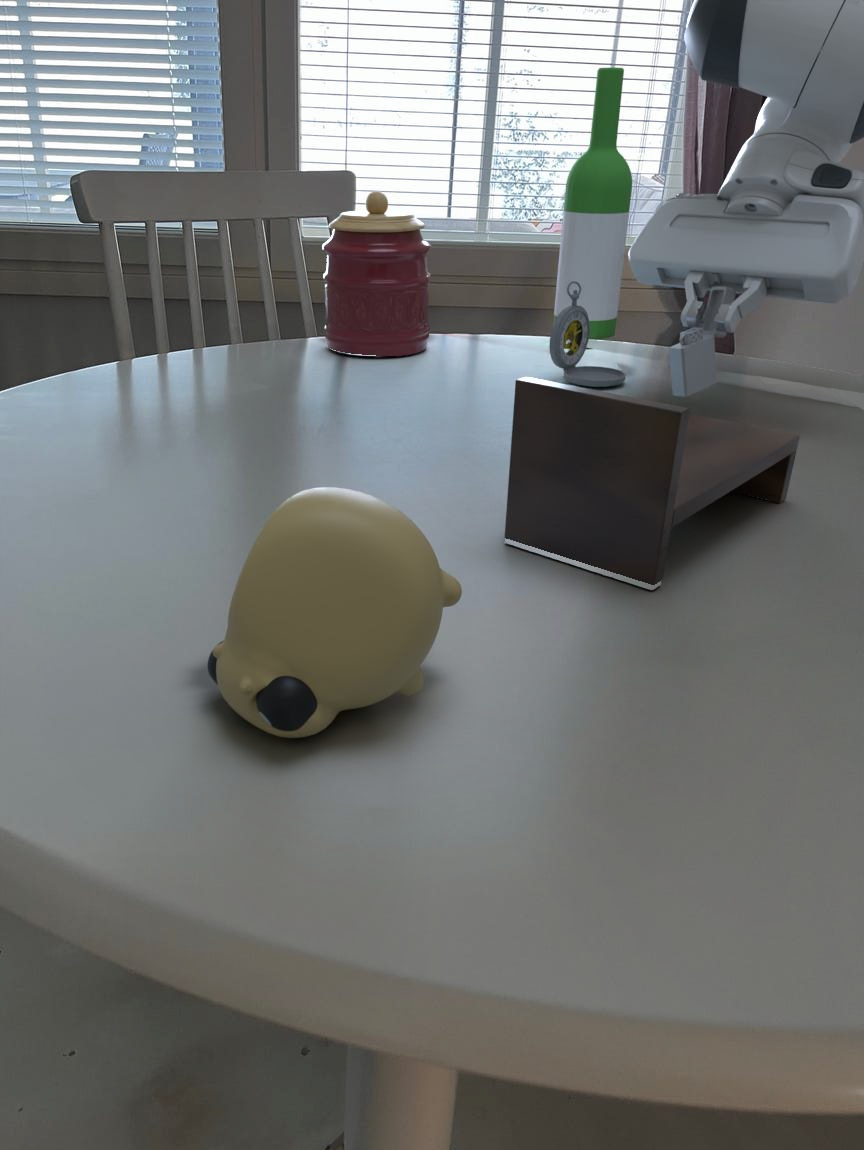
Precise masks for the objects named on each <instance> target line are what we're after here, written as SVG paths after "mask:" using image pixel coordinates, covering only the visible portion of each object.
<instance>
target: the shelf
mask: <svg viewBox="0 0 864 1150" xmlns="http://www.w3.org/2000/svg"><path fill="white" fill-rule="evenodd" d="M512 413H513V414H512V425H511V426H512V427H511V428H512V429H511V438H510V439H511V440H510V452H509V453H510V454H509V468H508V469H509V470H508V484H507V496H506V498H507V499H506V508H505V509H506V510H505V511H506V512H505V524H504V538H506V539H510V540H513V541H516V542H519V543H522V544H525V545H528V546H532V547H535V548H538V549H541V550H544V551H547V552H550V553H554V554H557V555H560V556H563V557H566V558H569V559H572V560H576V561H579V562H582V563H585V564H588V565H591V566H594V567H598V568H601V569H604V570H607V571H610V572H613V573H616V574H620V575H623V576H626V577H629V578H632V579H635V580H638V581H642V582H645V583H648V584H651V585H655V584H657V583H658V582H660V581H661V580H662V581H663V578H664V573H665V567H666V561H667V554H668V548H669V542H670V537H671V531H672V528H673V527H675V526H677V525H679V524H680V523H682V522H683V521H685V520H686V519H688V518H689V517H691V516H693V515H695V514H696V513H698V512H699V511H701V510H703V509H704V508H705V507H707V506H709V505H710V504H712V503H714V502H716V501H717V500H718V499H720V498H722V497H723V496H725V495H727V494H728V493H734V492H736V493H735V494H738V493H741V494H740V495H742V494H745V495H744V496H746V495H750V496H754V497H759V498H763V499H767V500H770V501H769V502H771V501H774V502H773V503H775V502H778V503H777V504H781V503H783V502H784V501H786V500H785V499H787V495H788V491H789V487H790V482H791V478H792V473H793V469H794V465H795V461H796V456H797V450H798V447H799V442H800V437H801V435H800V434H797V433H792V432H786V431H782V430H776V429H771V428H766V427H761V426H756V425H751V424H747V423H741V422H736V421H731V420H725V419H721V418H716V417H710V416H705V415H701V414H695V413H691V408H689V407H686V406H680V405H675V404H671V403H670V404H669V403H664V402H660V401H654V400H649V399H644V398H639V397H634V396H628V395H624V394H617V393H612V392H609V391H603V390H597V389H592V388H587V387H581V386H578V385H572V384H566V383H563V382H562V383H561V382H557V381H551V380H546V379H540V378H535V377H529V376H524V377H521V378H518V379H516V380H515V384H514V399H513V412H512ZM730 491H732V492H730ZM750 496H749V497H750ZM754 497H753V498H754ZM759 498H758V499H759ZM763 499H762V500H763ZM767 500H766V501H767ZM782 501H783V502H782Z"/></svg>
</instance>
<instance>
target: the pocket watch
mask: <svg viewBox="0 0 864 1150" xmlns="http://www.w3.org/2000/svg"><path fill="white" fill-rule="evenodd" d="M573 283H575V284H577V285H578V287H579V292H578V291H577V290H574V291H573V292H574V293H573V294H572V295H571V294H570V292H569V287H570V285H571V284H573ZM577 292H578V293H577ZM567 293H568V295H569V296H570V297H571V300H572V306H568V307H566V308H565V309H563V310H562V311H561V312H560V314H559V315H558V317H557V318H556V320H555V322H554V321H553V323H554V325H553V324H552V327H551V330H550V331H551V332H550V336H549V355H550V359H551V361H552V363H553V364H554V365H555V366H556V367H558V368H559V369H562V371H563V379H564V380H565V381H566V382H569V383H572V384H573V385H576V386H579V387H581V386H583V387H589V388H590V387H591V388H607V387H615V386H618V385H620V384H623V383H624V382H625V381H626V378H627V373H625V372H624V371H622V370H620V369H617V368H613V367H607V366H606V367H605V366H598V365H597V366H595V365H593V366H592V365H586V366H585V365H583V366H577V365H578V363H579V362H580V361H581V359H582V358H583V356H584V354H585V352H586V350H587V349H586V348H588V344H589V341H590V339H589V334H590V324H589V318H588V314H587V312H586V311H585V309H584V308H583V307H581V306H578V305H577V299H578V298H579V295H580V293H581V286H580V284H579V283H578V282H575V281H572V282H570V283H569V284H568V286H567ZM574 328H575V331H574ZM570 336H571V337H570ZM563 344H565V346H564V345H563ZM569 345H570V346H569ZM565 350H567V352H566V351H565Z"/></svg>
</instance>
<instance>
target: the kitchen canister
mask: <svg viewBox="0 0 864 1150" xmlns="http://www.w3.org/2000/svg"><path fill="white" fill-rule="evenodd" d="M388 207H389V200H388V198H387V195H386V194H385V193H384V192H382V191H380V190H379V191H377V190H375V191H372V192H369V194H368V195H367V197H366V199H365V210H349V211H344V212H341V213H340V214H339V216H338V217H336V218H335V219H334V220H332V221H330V222H329V223H328V228H329V229H331V230H332V235H331V237H330V238H329V239H328V240H327V241H325V242H324V243H323V244H322V246H321V247H322V250H323V252H324V253H325V254H326V257H327V258H326V262H327V263H326V270H325V272H324V273H323V276H322V278H323V280H324V300H325V304H324V305H325V308H324V309H325V325H324V332H325V333H324V339H325V341H326V347H327V346H328V347H329V348H331V349H333V350H336V351H340V352H345V353H351V354H362V355H376V356H396V357H403V355H404V356H410V355H415V354H418V353H421V352H423V351H425V350H426V349H427V347H428V341H429V338H430V326H429V307H430V306H429V301H430V300H429V299H430V280H431V277H432V276H431V273H430V272H428V263H427V260H428V259H427V258H428V257H427V256H428V254H429V252H430V251H431V250H432V245H431V243H430V242H428V241H427V240H426V239H424V237H423V235H422V232H421V230H424V228H425V227H426V223H424V222H423V221H421V220H420V219H418V218H417V217H416V216H415V215H414V213H413V212H410V211H402V210H388ZM328 347H327V348H328ZM329 348H328V349H329Z"/></svg>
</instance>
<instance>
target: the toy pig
mask: <svg viewBox="0 0 864 1150" xmlns="http://www.w3.org/2000/svg"><path fill="white" fill-rule="evenodd" d="M462 595H463V589H462V586H461V583H460V582H459V581H458V579H457V578H456V577H454V576H453V575H452V574H450V573H448V572H446V571H445V570H443V569H442V568H441V566H440V564H439V560H438V557H437V555H436V552H435V549H434V548H433V546H432V545H431V543H430V541H429V540H428V538H427V537H426V535H425V534H424V532H423V531H422V529H420V528H419V526H418V525H417V524H416V523H415V522H414V521H413V520H412V519H411V518H410V517H409V516H407V514H405V513H404V512H402V511H401V510H399V509H398V508H397V507H395V506H394V505H392V504H390V503H388V502H387V501H386V500H382V499H381V498H378V497H377V496H374V495H372V494H368V493H366V492H363V491H358V490H356V489H355V490H354V489H349V488H344V487H334V486H333V487H331V486H321V487H312V488H307V489H304V490H302V491H299V492H297V493H295V494H293V495H292V496H290V497H288V498H287V499H286V500H284V501H283V502H282V503H280V505H279V506H278V507H277V508H276V509H275V510H274V511H273V513H271V515H270V516H269V517H268V519H267V520H266V522H265V523H264V524H263V526H262V528H261V529H260V531H259V533H258V535H257V536H256V538H255V540H254V542H253V544H252V546H251V548H250V550H249V552H248V554H247V556H246V559H245V561H244V564H243V566H242V568H241V570H240V573H239V576H238V578H237V581H236V584H235V586H234V590H233V593H232V596H231V599H230V600H231V601H230V605H229V609H228V615H227V627H226V632H225V635H224V640H222V641H220V642H219V643H217V644H216V645H215V646H214V647H213V649H212V650H211V652H210V653H209V656H208V660H207V672H208V675H209V677H210V679H211V680H212V682H213V683H214V684H215V685H216V686H218V689H219V692H220V694H221V697H222V698H223V699H224V701H225V702H227V705H228V706H229V707H230V708H232V710H234V711H235V713H236V714H238V715H240V717H242V719H244V720H245V721H247V722H248V723H249V724H252V725H253V726H255V727H256V728H258V729H260V730H261V731H264V732H266V733H268V734H270V735H273V736H276V737H280V738H285V739H287V738H288V739H298V738H306V737H310V736H313V735H316V734H318V733H320V732H321V731H323V730H325V729H326V728H328V727H329V725H331V723H332V722H333V721H334V720H335V719H336V717H337V715H338V714H339V713H340V712H342V711H346V710H353V709H354V710H355V709H360V708H365V707H369V706H372V705H374V704H377V703H379V702H382V701H384V700H385V699H387V698H389V697H391V696H392V695H394V694H395V693H398V694H399V695H400V694H401V695H403V696H407V697H409V696H414V695H417V694H418V693H420V691H421V690H422V689H423V687H424V684H425V677H424V673H423V670H422V669H421V666H422V664H423V663H424V661H425V660H426V658H427V656H428V655H429V653H430V651H431V650H432V648H433V646H434V643H435V641H436V639H437V636H438V633H439V630H440V626H441V622H442V619H443V618H442V617H443V612H444V611H443V610H444V608H448V607H453V606H455V605H456V604H458V603H459V601H460V600H461V598H462Z"/></svg>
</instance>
